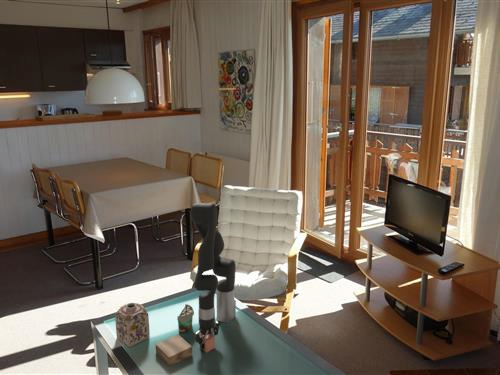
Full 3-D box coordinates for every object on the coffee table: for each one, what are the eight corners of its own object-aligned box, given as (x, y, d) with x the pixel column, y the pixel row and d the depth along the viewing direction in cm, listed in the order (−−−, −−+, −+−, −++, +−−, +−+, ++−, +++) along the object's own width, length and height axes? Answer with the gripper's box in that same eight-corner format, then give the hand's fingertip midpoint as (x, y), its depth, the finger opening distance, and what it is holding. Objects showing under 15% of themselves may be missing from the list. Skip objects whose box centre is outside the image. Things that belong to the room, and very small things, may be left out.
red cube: (208, 343, 213) (207, 332, 212) (214, 347, 210) (214, 336, 208) (199, 347, 210) (199, 336, 208) (206, 352, 207) (206, 341, 205)
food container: (189, 336, 219) (189, 318, 216) (177, 334, 220) (177, 316, 217) (197, 322, 230) (197, 304, 227) (186, 320, 231) (185, 303, 228)
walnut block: (178, 343, 213) (178, 334, 212) (192, 355, 205) (192, 346, 203) (156, 353, 206) (155, 344, 205) (169, 366, 197) (169, 357, 196)
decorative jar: (150, 337, 217) (148, 304, 212) (129, 348, 209) (127, 314, 204) (136, 327, 225) (134, 295, 220) (116, 337, 217) (113, 305, 212)
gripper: (213, 305, 212) (213, 336, 217) (189, 317, 203) (190, 349, 207) (223, 312, 207) (224, 343, 212) (199, 324, 198) (200, 357, 202)
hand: (207, 346), depth 210 cm, fingers closed on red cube, 5 cm apart
